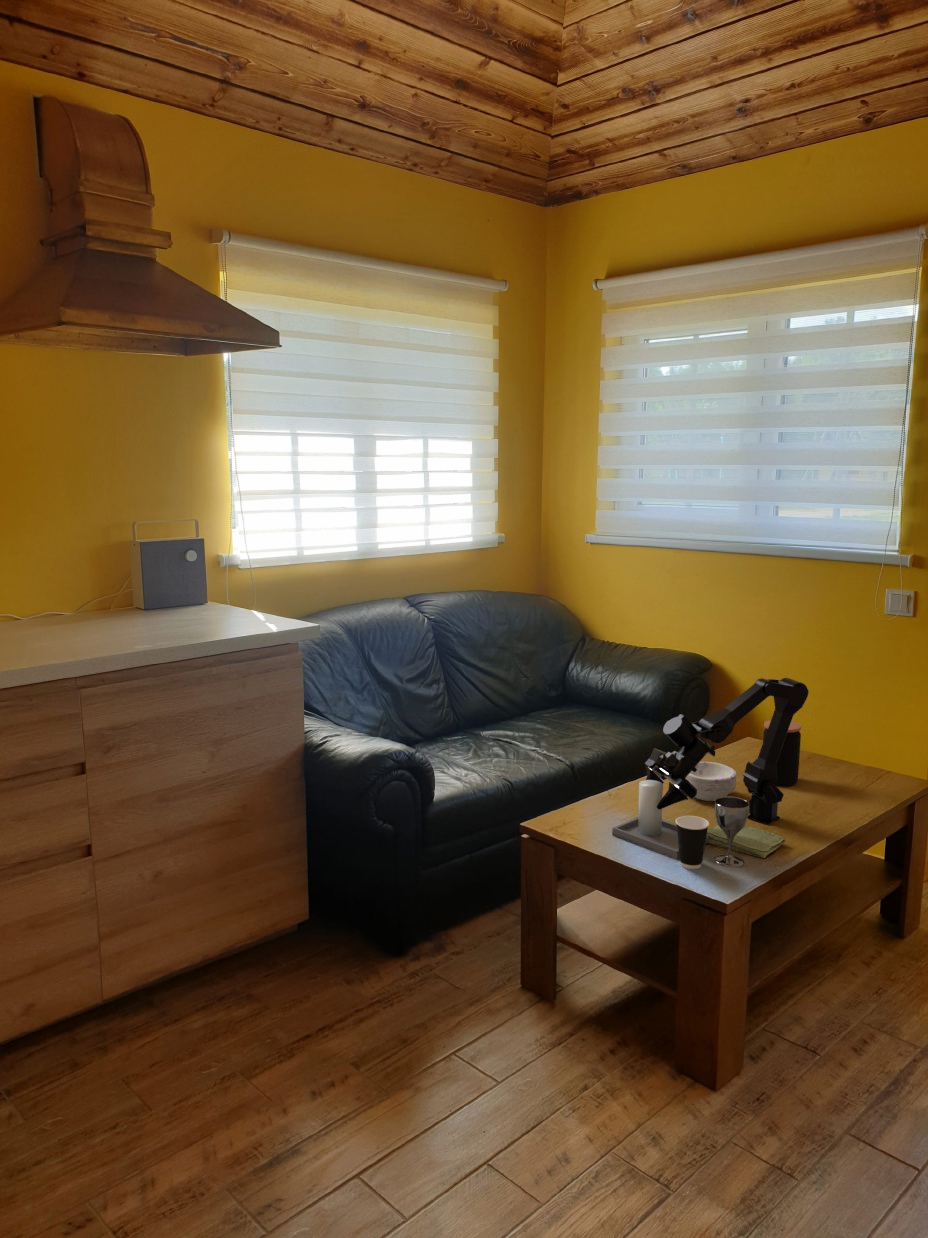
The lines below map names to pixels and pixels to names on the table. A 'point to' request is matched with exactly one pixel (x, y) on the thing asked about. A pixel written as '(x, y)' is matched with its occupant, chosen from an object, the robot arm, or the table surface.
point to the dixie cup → (691, 840)
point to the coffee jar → (788, 756)
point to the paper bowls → (712, 780)
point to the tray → (651, 837)
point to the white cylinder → (650, 807)
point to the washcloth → (747, 841)
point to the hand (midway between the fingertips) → (649, 802)
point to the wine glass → (731, 825)
